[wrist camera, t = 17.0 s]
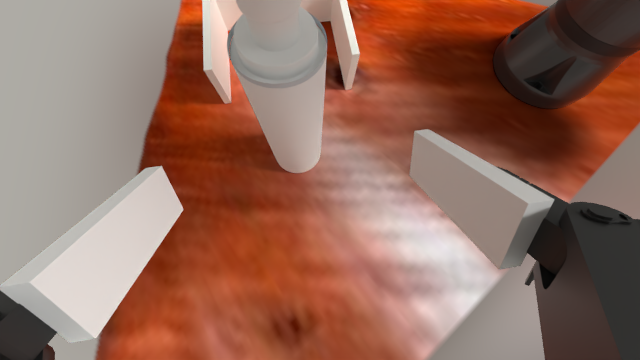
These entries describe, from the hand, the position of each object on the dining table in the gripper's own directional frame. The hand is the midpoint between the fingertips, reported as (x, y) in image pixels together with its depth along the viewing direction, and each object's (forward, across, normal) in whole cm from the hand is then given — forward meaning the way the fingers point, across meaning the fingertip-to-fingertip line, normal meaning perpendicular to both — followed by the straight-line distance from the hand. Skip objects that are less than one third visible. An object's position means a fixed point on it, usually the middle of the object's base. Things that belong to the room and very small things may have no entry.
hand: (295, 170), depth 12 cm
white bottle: (+20, 0, -7) cm, 21 cm away
